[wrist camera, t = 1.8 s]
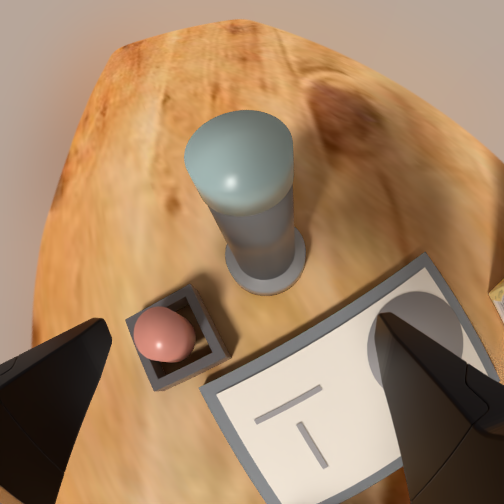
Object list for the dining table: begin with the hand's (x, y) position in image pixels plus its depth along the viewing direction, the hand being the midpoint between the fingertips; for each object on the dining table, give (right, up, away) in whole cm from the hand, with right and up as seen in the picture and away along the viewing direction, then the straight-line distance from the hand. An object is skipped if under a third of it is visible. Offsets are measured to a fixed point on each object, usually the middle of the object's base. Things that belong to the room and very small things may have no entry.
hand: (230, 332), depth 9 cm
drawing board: (+9, -8, +10) cm, 15 cm away
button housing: (-5, -4, +13) cm, 15 cm away
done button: (-5, -4, +12) cm, 14 cm away
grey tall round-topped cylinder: (+2, +2, +15) cm, 15 cm away
